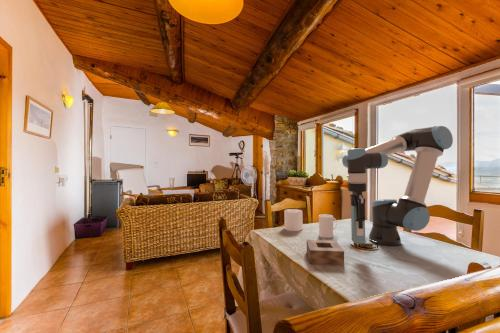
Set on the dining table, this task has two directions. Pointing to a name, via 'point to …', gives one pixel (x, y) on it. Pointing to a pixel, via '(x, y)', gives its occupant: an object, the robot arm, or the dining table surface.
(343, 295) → the dining table surface
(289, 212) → the cup
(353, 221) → the peg
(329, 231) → the mug
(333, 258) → the socket
